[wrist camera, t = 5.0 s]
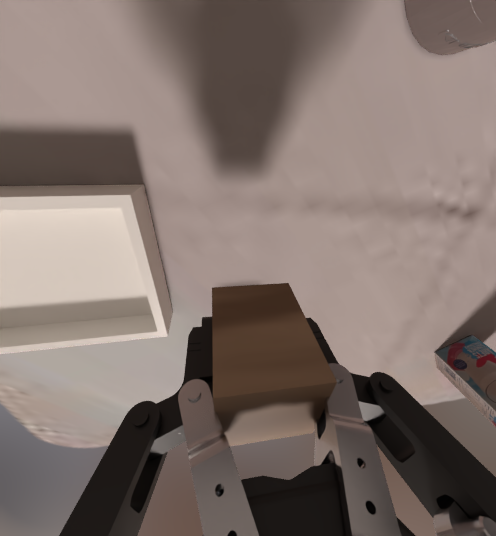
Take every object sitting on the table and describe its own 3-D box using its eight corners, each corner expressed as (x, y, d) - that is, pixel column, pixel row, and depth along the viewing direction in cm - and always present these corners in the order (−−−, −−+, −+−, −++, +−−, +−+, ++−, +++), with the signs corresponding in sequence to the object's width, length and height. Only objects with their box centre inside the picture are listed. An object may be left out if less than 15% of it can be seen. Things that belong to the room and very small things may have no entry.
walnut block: (212, 287, 12) (212, 398, 7) (288, 283, 13) (337, 382, 8) (215, 339, 15) (218, 448, 10) (279, 333, 15) (312, 432, 10)
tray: (-131, 187, 14) (-217, 201, 12) (143, 184, 17) (130, 194, 14) (-8, 328, 22) (-42, 358, 19) (172, 311, 24) (167, 336, 21)
